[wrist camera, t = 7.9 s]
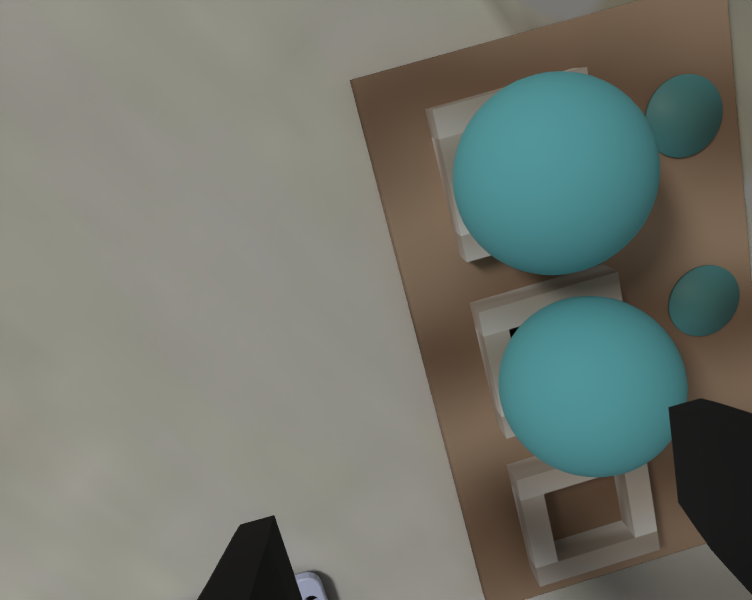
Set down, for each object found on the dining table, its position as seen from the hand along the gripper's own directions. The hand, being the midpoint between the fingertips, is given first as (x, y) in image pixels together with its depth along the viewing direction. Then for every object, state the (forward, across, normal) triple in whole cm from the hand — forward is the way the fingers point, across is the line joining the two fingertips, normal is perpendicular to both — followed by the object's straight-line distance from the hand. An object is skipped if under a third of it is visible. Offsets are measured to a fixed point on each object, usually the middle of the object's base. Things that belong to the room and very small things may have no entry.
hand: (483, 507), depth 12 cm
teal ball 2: (+6, -4, +2) cm, 8 cm away
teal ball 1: (+7, -4, -4) cm, 9 cm away
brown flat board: (+10, -6, +2) cm, 12 cm away
